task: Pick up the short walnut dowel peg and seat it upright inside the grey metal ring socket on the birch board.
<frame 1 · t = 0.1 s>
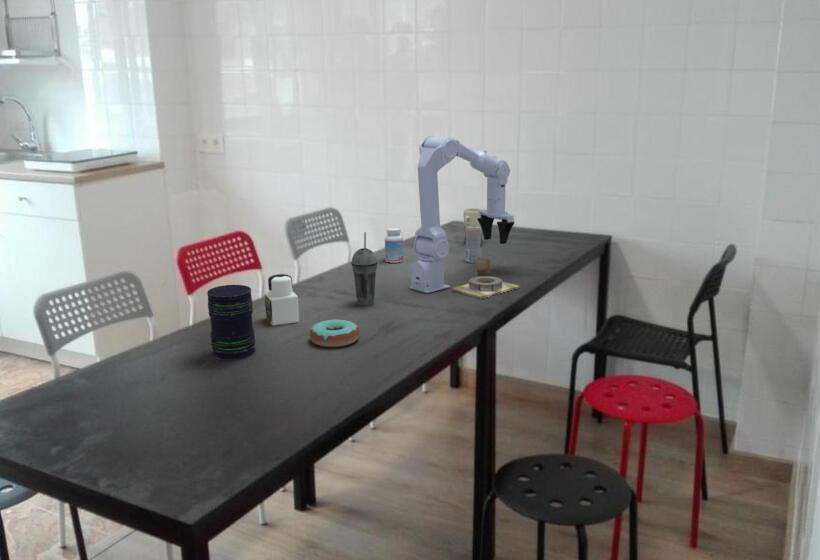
hand: (495, 241, 240), 10 cm above the table, tool pointing down, fingers open, 7 cm apart
walnut peg: (483, 278, 236), on the table
beverage cup: (365, 303, 211), on the table
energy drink: (473, 262, 256), on the table
character mug: (472, 244, 282), on the table
storage jar: (234, 353, 175), on the table
white handled container: (282, 321, 198), on the table
pill bottle: (394, 262, 258), on the table
socket board: (485, 289, 223), on the table
donut: (334, 341, 183), on the table
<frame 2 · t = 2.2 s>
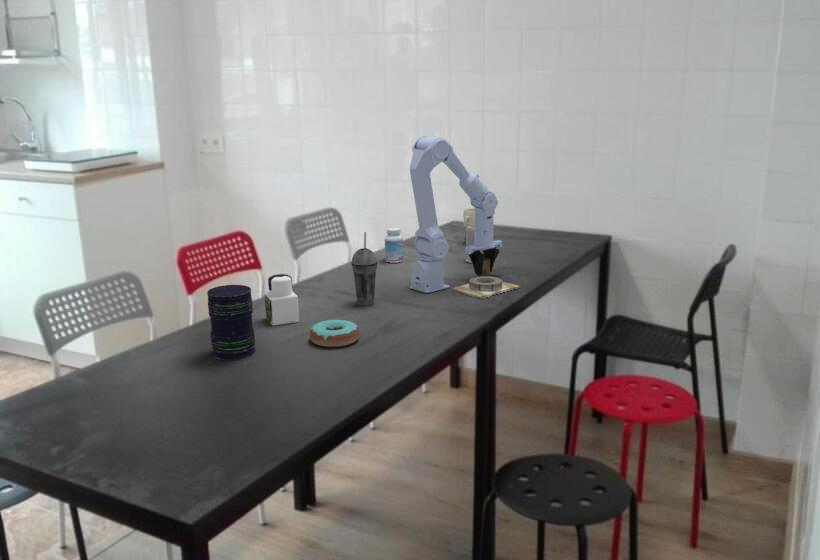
hand: (483, 273, 235), 2 cm above the table, tool pointing down, fingers closed on walnut peg, 4 cm apart
walnut peg: (483, 278, 236), on the table, touching gripper
everything else where it was.
when the fingers open (3 cm above the table, at t = 6.1 s): walnut peg stays where it is, resting on socket board.
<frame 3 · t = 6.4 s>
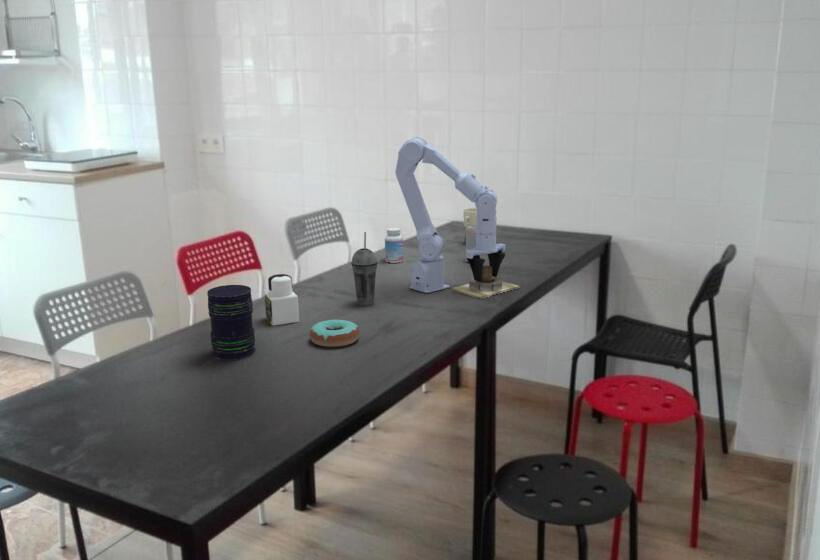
hand: (485, 278, 222), 3 cm above the table, tool pointing down, fingers open, 6 cm apart
walnut peg: (485, 286, 223), point 1 cm above the table, touching socket board
everything else where it was.
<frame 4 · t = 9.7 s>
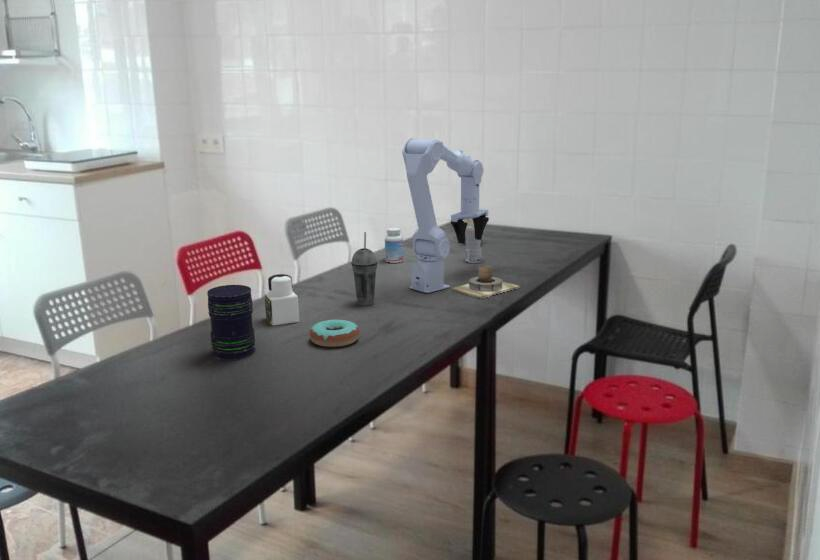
hand: (469, 241, 239), 10 cm above the table, tool pointing down, fingers open, 7 cm apart
nothing on the table moved.
at the end: walnut peg 0.2 cm from the socket board (horizontally); walnut peg point 0.8 cm above the table; walnut peg tilted 1° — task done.
